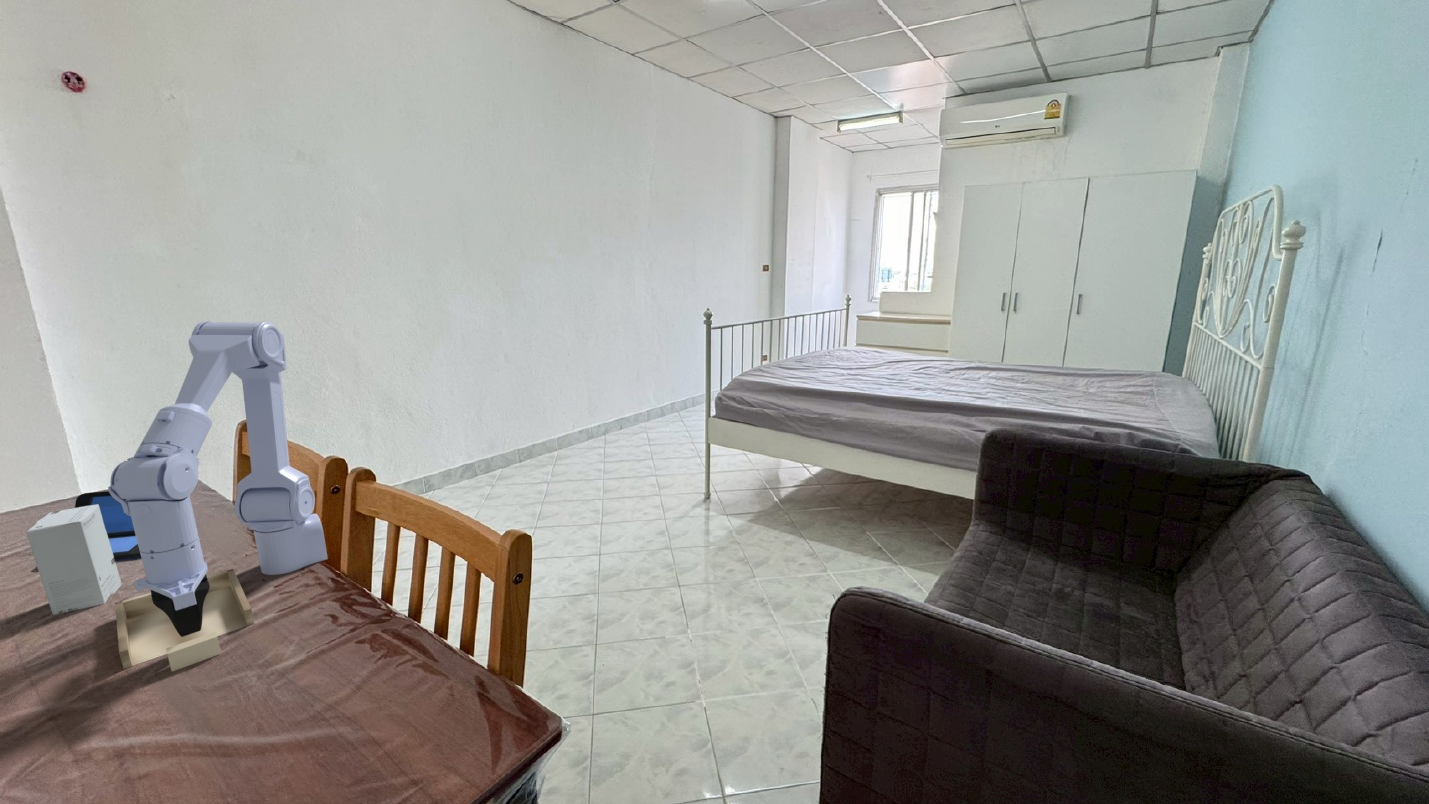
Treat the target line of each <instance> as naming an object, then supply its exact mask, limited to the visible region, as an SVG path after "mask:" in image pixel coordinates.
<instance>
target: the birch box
mask: <svg viewBox="0 0 1429 804" xmlns="http://www.w3.org/2000/svg"><path fill="white" fill-rule="evenodd" d="M206 576H207V579H208V580H207V581H208V582H209V585H210V588H209V591H208V593H207V595H206V597H205V600H204V604H203V614H202V627H201V630H200V631H198V632H195V633H192V634H189V635H187V636H184V637H181V636H180V635H179V634H178V632H177V631H176V629H175V627H174V625H173V623H172V622H171V620H170V618H169V617H168V616H167V615H166V613H165V612H163V611H162V610H161V609H159V608H158V607H156V606H155V605H154V604H153V601H152V596H151V592H149V593H145V594H141V595H138V596H133V597H130V598H127V599H123V600H120V601H117V602H114V607H115V620H116V631H117V641H118V643H117V645H118V654H119V657H120V661H121V664H122V669H123V670H125V669H128V668H131V667H134V666H136V665H139V664H143V663H145V662H146V663H147V662H148V661H151V660H154V659H157V658H160V657H162V656H165V655H167V650H166V649H167V648H169V647H172V646H175V645H178V644H181V643H184V642H187V641H190V640H193V639H196V638H198V637H201V636H204V635H207V634H210V633H213V632H216V633H217V636H218V637H219V636H223V635H225V634H229V633H230V632H231V633H232V632H234V631H237V630H239V629H242V628H246V627H248V626H251V625H254V624H255V621H254V617H253V616H254V615H253V611H252V608H251V605H250V603H249V601H248V598H247V596H246V594H245V592H244V590H243V588H242V585H241V583H240V581H239V578H238V576H237V574H236V572H235V570H234V568H231V569H227V570H224V571H221V572H216V573H213V574H210V575H206Z"/></svg>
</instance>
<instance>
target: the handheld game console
mask: <svg viewBox="0 0 1429 804" xmlns="http://www.w3.org/2000/svg"><path fill="white" fill-rule="evenodd" d="M97 504H98V505H99V508H100V512H101V515H102V519H103V523H104V526H105V529H106V532H107V535H108V539H109V542H110V546H111V549H112V552H113V556H114V559H115V562H116V561H118V562H119V561H124V560H132V559H133V560H134V559H142V558H141V554H140V550H139V546H138V542H137V538H136V534H135V530H134V526H133V522H132V518H131V516H129V515H127V514H126V513H124V510H123V507H122V505H121V503H120V502H118V501H117V500H115V499H114V498H113V497H112V496H111V494H110V492H109V490H108V491H107V490H106V491H95V492H94V491H93V492H91V491H90V492H84V493H81V494H79V495H78V496H77V497H76V499H75V504H74V508H78V507H84V506H90V505H97Z"/></svg>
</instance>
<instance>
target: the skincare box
mask: <svg viewBox="0 0 1429 804" xmlns="http://www.w3.org/2000/svg"><path fill="white" fill-rule="evenodd" d="M25 533H26V536H27V539H28V542H29V545H30V548H31V553H32V555H33V557H34V561H35V565H36V567H37V570H38V573H39V577H40V580H41V582H42V583H41V584H42V586H43V589H44V591H45V595H46V598H47V601H48V604H49V607H50V611H51V614H52V616H53V615H59V614H64V613H68V612H69V613H70V612H72V611H73V612H74V611H78V610H82V609H87V608H91V607H97V606H100V605H104V604H106V603H107V601H108V599H109V598H110V596H111V595H113V594H115V593H116V592H117V591H118V590H119V589H120V588H121V586H122V581H121V577H120V573H119V570H118V567H117V563H116V561H115V559H114V556H113V552H112V549H111V546H110V542H109V539H108V535H107V532H106V529H105V526H104V523H103V519H102V515H101V512H100V508H99V505H98V504H97V505H90V506H84V507H78V508H75V507H74V508H68V509H62V510H56V511H51V512H48V513H47V514H46V515H45V516H44V517H43V518H41V519H38V520H37V521H35V524H34V525H33V526H31V527H30V528H29V529H28V530H26V532H25Z"/></svg>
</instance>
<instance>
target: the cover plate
mask: <svg viewBox="0 0 1429 804" xmlns="http://www.w3.org/2000/svg"><path fill="white" fill-rule="evenodd" d="M219 640H220V639H219V636H217V633H216V632H213V633H210V634H207V635H204V636H201V637H198V638H196V639H193V640H190V641H187V642H184V643H181V644H178V645H175V646H172V647H169V648H167V649H166V650H167V654H166V655H167V658H168V663H169V668H170V670H171V673H173V672H175V671H178V670H180V669H183V668H186V667H189V666H192V665H194V664H198V663H199V662H203V661H205V660H208V659H210V658H213V657H216V656H218V655H221V654H222V650H221V646H220V645H221V644H220V642H219Z"/></svg>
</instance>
